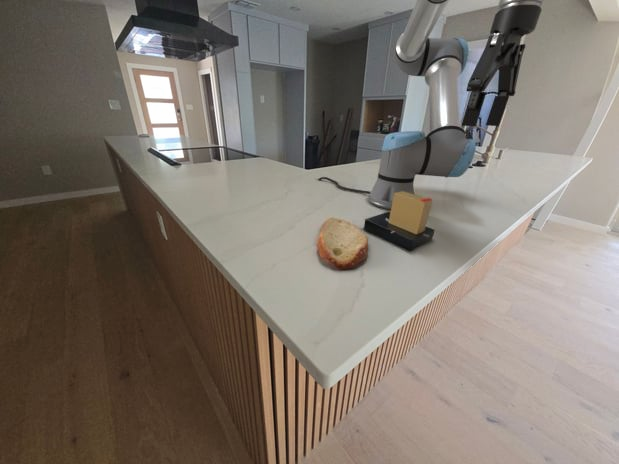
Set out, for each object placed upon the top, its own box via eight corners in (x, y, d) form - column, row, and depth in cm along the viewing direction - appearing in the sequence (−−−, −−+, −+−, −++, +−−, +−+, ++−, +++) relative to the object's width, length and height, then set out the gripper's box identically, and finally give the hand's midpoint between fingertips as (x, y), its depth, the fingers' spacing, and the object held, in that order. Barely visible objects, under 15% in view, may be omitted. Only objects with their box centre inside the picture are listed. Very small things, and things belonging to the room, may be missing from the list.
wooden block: (388, 222, 65) (394, 192, 62) (396, 219, 67) (402, 189, 64) (416, 234, 60) (425, 201, 56) (424, 231, 62) (433, 199, 58)
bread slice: (334, 221, 72) (335, 209, 70) (391, 246, 60) (394, 232, 59) (284, 240, 61) (284, 226, 59) (342, 275, 49) (344, 259, 47)
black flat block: (360, 230, 68) (362, 219, 66) (388, 220, 75) (390, 210, 73) (411, 255, 57) (414, 242, 56) (438, 241, 64) (441, 229, 63)
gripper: (516, 26, 59) (484, 124, 69) (471, -4, 45) (438, 124, 55) (558, 20, 54) (517, 126, 64) (521, -17, 40) (476, 127, 50)
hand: (481, 126), depth 59 cm, fingers open, 13 cm apart
